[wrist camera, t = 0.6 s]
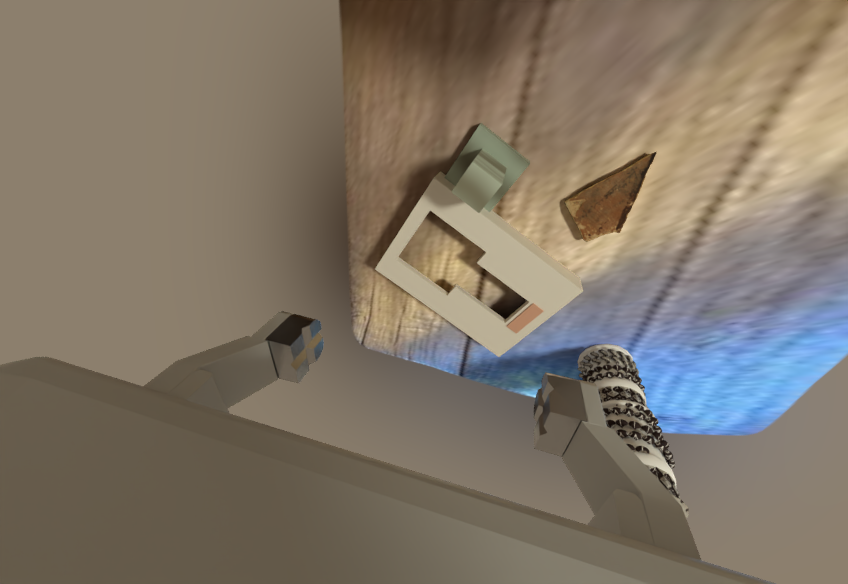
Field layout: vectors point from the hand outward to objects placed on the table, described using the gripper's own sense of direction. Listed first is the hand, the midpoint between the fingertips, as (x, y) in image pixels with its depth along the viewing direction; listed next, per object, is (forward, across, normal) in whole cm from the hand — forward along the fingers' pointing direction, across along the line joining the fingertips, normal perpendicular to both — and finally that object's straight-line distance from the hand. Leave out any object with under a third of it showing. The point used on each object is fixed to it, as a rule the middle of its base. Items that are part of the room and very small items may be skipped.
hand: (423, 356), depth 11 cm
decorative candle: (+39, -23, +30) cm, 54 cm away
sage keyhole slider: (+39, +2, +1) cm, 39 cm away
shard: (+39, -14, +3) cm, 42 cm away
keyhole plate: (+39, +1, +17) cm, 42 cm away
